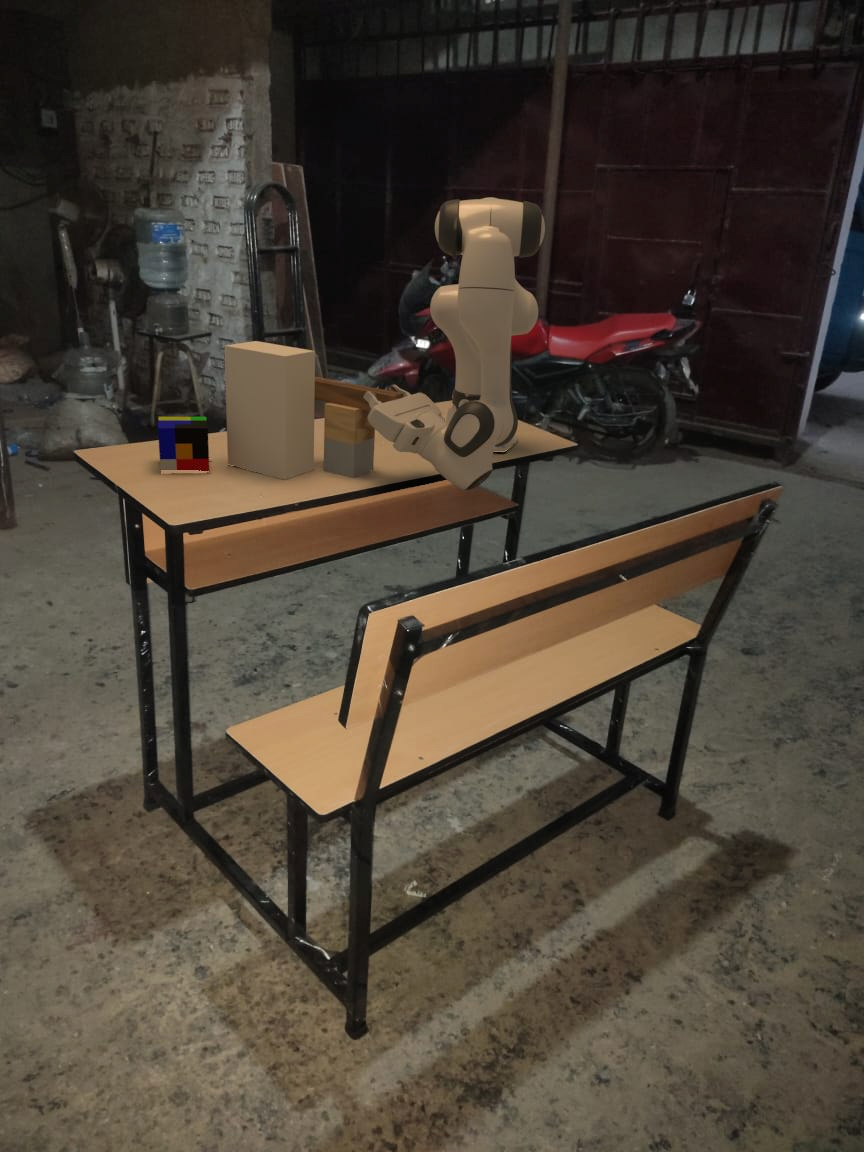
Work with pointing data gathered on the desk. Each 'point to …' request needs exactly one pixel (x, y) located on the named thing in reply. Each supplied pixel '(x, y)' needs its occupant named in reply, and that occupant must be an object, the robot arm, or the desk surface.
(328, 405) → the tower top
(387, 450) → the desk surface
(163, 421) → the puzzle toy
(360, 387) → the walnut bar
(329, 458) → the tower bottom
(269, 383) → the tall beige box
